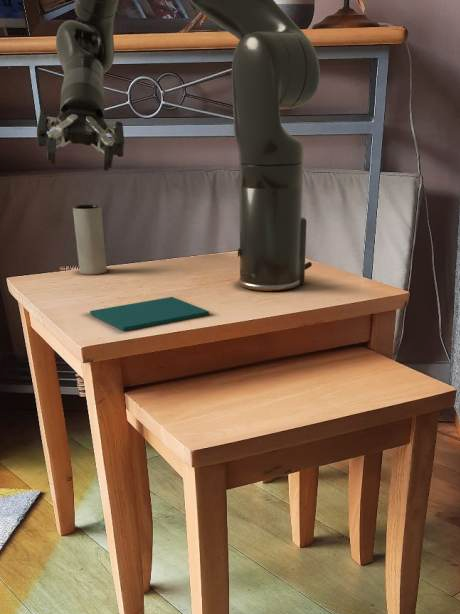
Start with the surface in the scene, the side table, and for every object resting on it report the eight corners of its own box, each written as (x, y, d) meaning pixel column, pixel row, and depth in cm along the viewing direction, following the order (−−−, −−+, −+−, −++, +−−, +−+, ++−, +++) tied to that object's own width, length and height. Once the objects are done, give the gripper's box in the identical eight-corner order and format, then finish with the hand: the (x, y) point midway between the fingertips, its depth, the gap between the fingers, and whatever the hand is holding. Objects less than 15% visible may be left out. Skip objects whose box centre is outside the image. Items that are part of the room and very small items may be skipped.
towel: (172, 300, 108) (171, 296, 108) (209, 314, 101) (209, 311, 101) (90, 314, 102) (89, 310, 102) (123, 331, 95) (123, 327, 95)
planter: (109, 269, 127) (103, 204, 122) (103, 274, 123) (96, 208, 118) (83, 268, 128) (77, 204, 123) (76, 274, 124) (69, 208, 119)
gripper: (40, 74, 125) (34, 135, 117) (125, 87, 128) (125, 147, 120) (41, 116, 132) (35, 177, 124) (122, 127, 134) (122, 187, 127)
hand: (80, 162), depth 122 cm, fingers open, 8 cm apart
